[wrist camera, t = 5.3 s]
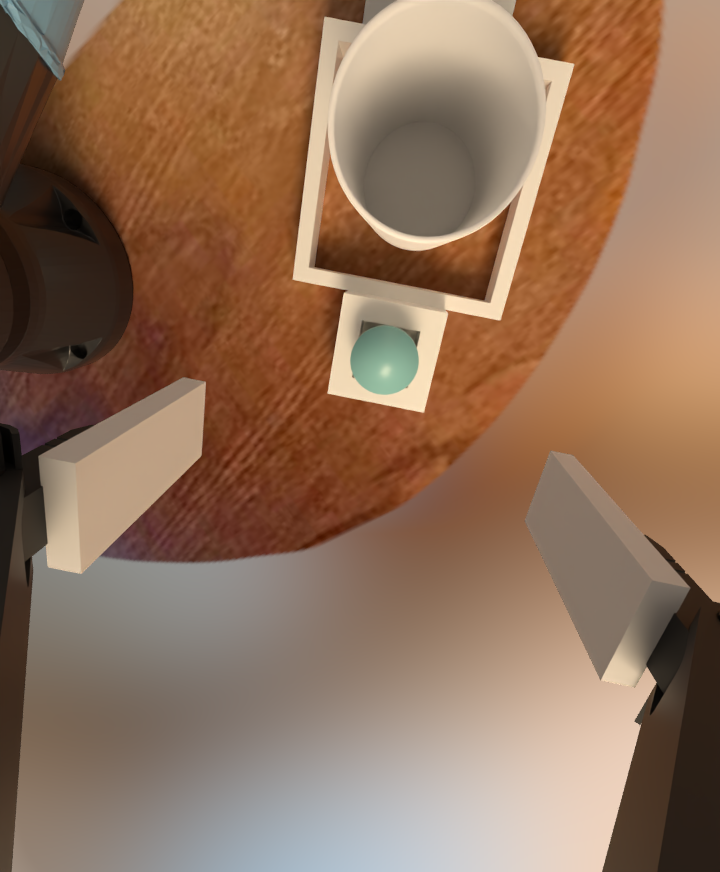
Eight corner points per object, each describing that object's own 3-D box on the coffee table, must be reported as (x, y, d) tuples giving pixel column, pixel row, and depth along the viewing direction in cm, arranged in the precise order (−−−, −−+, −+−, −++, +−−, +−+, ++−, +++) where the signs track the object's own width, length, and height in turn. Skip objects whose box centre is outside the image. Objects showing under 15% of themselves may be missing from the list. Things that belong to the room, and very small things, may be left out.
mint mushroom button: (352, 371, 35) (344, 387, 30) (362, 312, 33) (356, 320, 29) (409, 382, 35) (410, 400, 30) (422, 324, 33) (425, 334, 29)
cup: (396, 273, 34) (393, 283, 19) (338, 166, 32) (284, 85, 17) (498, 208, 32) (582, 165, 17) (444, 90, 30) (486, -77, 15)
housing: (288, 367, 38) (272, 382, 33) (330, 35, 30) (317, -7, 25) (469, 403, 37) (478, 423, 33) (560, 79, 29) (590, 45, 25)
